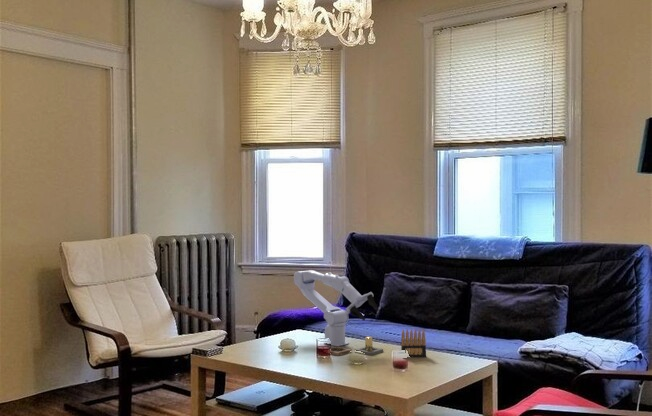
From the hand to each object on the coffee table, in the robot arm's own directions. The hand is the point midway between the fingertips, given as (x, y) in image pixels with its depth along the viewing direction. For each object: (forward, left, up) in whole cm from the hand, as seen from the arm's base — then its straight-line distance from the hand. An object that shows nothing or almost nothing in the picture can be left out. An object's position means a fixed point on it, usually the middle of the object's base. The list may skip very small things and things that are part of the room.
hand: (371, 314), depth 292 cm
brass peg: (0, -1, -17) cm, 17 cm away
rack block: (-10, -11, -17) cm, 23 cm away
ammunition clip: (+20, +5, -17) cm, 26 cm away
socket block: (0, -1, -17) cm, 17 cm away
